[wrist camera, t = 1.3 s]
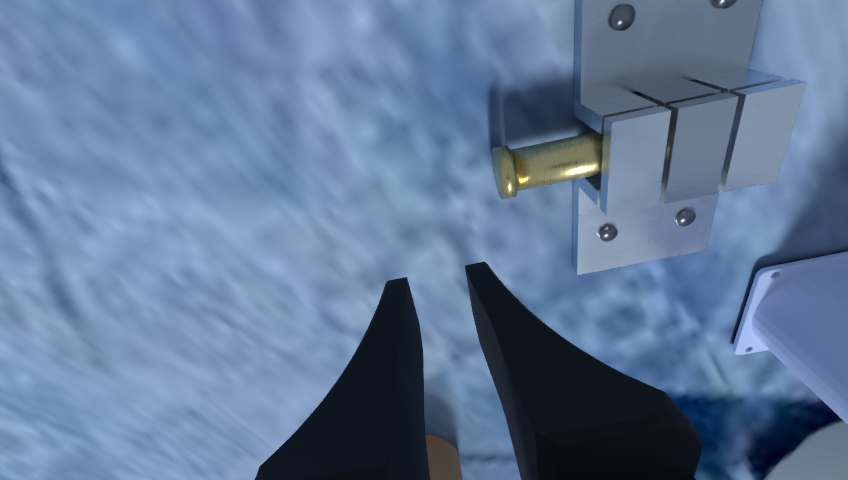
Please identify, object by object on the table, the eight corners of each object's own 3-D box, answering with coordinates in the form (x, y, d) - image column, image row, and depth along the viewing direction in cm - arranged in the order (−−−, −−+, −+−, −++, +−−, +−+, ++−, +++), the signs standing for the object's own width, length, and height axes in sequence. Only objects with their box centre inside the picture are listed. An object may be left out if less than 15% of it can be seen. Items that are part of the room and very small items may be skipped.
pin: (669, 103, 20) (703, 117, 18) (662, 151, 21) (693, 170, 19) (489, 140, 20) (502, 159, 18) (494, 186, 21) (506, 208, 19)
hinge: (767, -92, 16) (866, -112, 13) (697, 242, 25) (745, 282, 22) (575, -49, 17) (623, -57, 13) (572, 267, 25) (600, 310, 22)
